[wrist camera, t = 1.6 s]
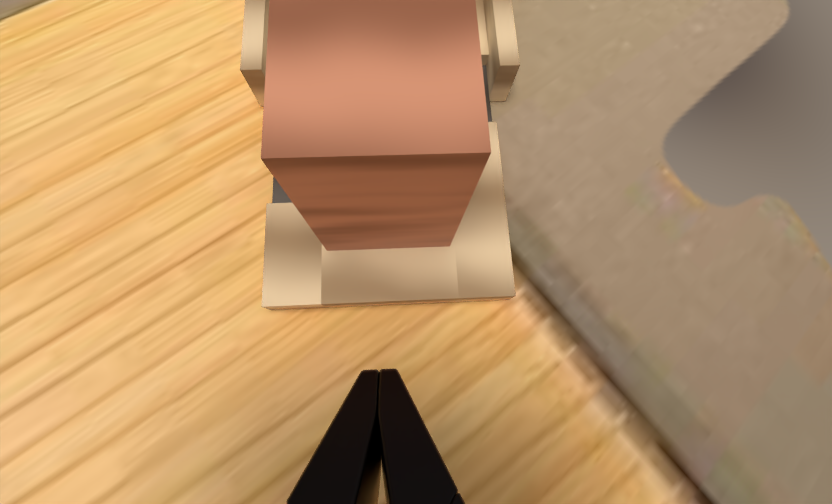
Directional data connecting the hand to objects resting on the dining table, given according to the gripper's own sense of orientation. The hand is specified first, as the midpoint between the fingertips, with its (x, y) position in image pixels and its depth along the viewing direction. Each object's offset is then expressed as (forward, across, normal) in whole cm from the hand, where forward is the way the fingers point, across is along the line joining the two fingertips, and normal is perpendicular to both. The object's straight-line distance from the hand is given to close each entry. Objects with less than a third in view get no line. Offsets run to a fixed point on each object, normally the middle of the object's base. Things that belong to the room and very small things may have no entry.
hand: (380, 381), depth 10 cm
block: (+16, 0, +1) cm, 16 cm away
